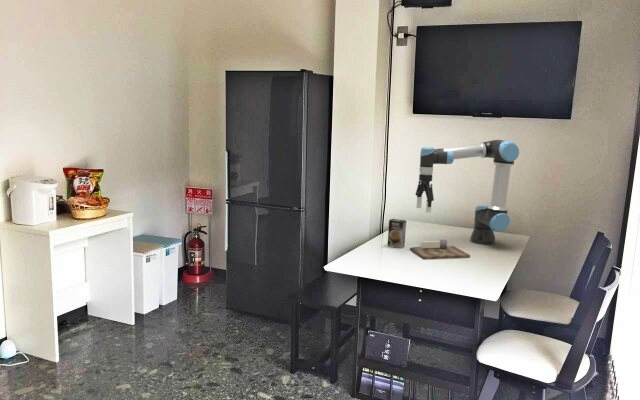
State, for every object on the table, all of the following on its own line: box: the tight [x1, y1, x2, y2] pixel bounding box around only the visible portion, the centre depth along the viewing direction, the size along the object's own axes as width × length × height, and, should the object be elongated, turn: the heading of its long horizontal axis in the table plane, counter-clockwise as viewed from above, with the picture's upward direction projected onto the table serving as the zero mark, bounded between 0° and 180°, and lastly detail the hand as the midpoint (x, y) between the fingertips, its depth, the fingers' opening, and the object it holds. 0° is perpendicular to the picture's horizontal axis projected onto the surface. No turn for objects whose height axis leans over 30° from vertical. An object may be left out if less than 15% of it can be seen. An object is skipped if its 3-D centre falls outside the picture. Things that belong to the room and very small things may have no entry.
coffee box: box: [387, 218, 407, 249], centre depth 322 cm, size 9×6×16 cm
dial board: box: [409, 245, 471, 260], centre depth 309 cm, size 28×20×2 cm
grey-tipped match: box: [421, 239, 448, 249], centre depth 315 cm, size 15×4×4 cm, turn 103°
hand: (423, 210), depth 315 cm, fingers open, 13 cm apart
